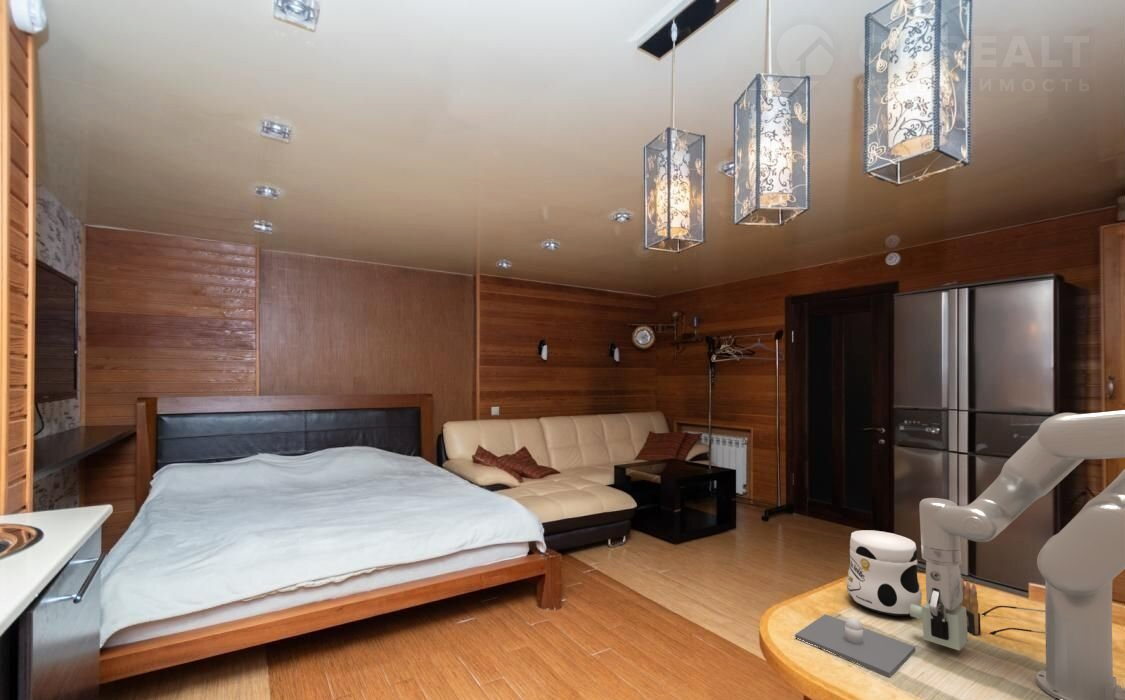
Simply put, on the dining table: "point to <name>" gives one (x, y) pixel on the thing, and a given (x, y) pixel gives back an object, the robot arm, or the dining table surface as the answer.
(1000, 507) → the robot arm
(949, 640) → the block with round peg
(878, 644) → the board
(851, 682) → the dining table surface
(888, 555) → the milk container
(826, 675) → the dining table surface
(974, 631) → the ammunition clip
